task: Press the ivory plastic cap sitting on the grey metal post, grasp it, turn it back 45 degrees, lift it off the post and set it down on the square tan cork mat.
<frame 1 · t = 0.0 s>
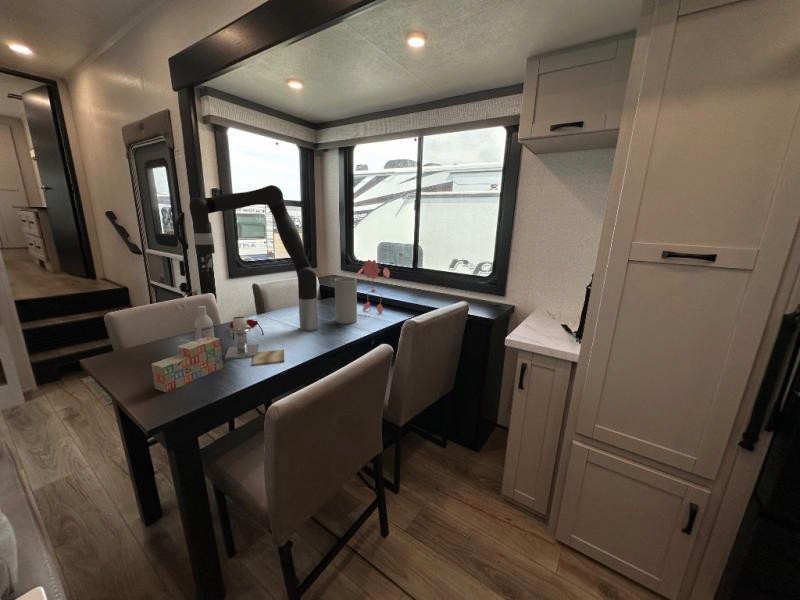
hand: (208, 277, 149), 29 cm above the table, tool pointing down, fingers open, 8 cm apart
bath foam: (206, 350, 139), on the table
coaster: (269, 358, 133), on the table
post: (242, 352, 138), on the table
stack of blocks: (191, 378, 115), on the table
cylinder vase: (346, 321, 187), on the table
glasses: (246, 333, 163), on the table
cap: (240, 329, 135), point 11 cm above the table, touching post
figurine: (370, 313, 204), on the table
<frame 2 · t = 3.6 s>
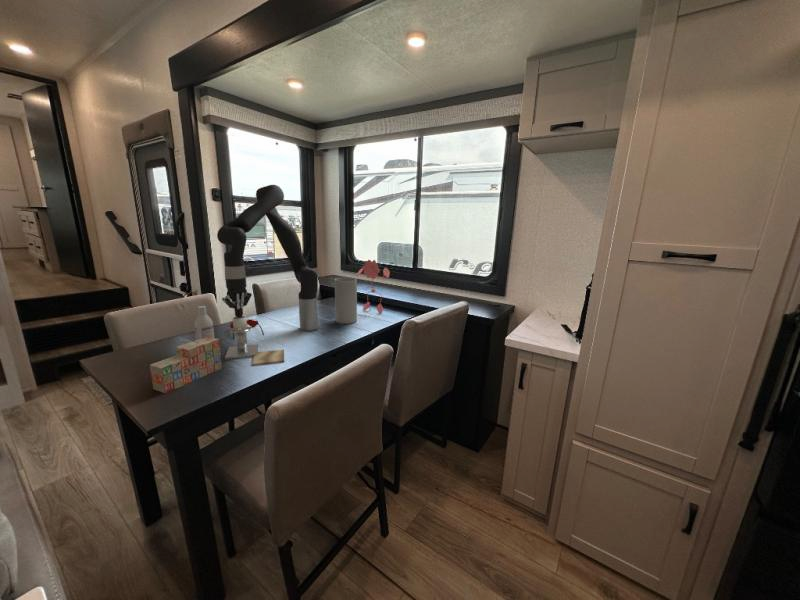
hand: (239, 316, 134), 16 cm above the table, tool pointing down, fingers closed
cap: (240, 329, 135), point 11 cm above the table, touching gripper, post
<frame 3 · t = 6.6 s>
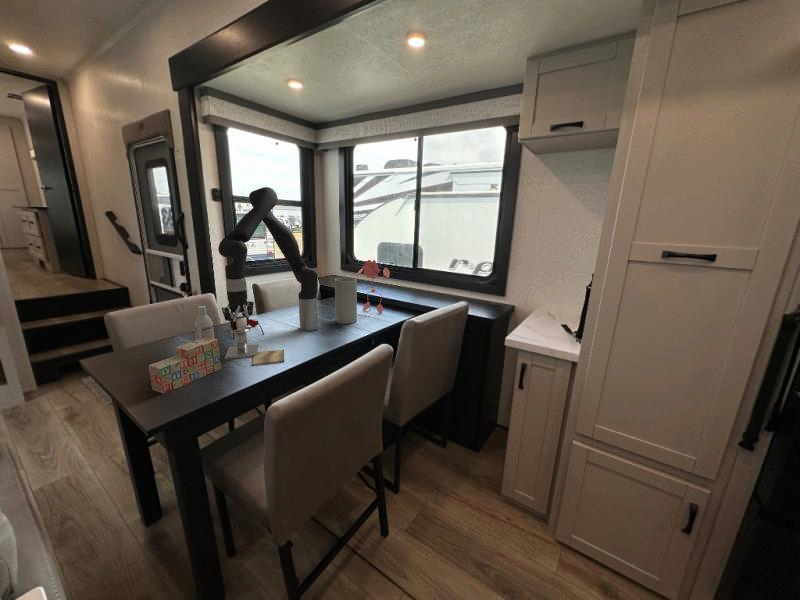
hand: (240, 327, 135), 12 cm above the table, tool pointing down, fingers closed on cap, 5 cm apart
cap: (240, 329, 135), point 11 cm above the table, touching gripper, post
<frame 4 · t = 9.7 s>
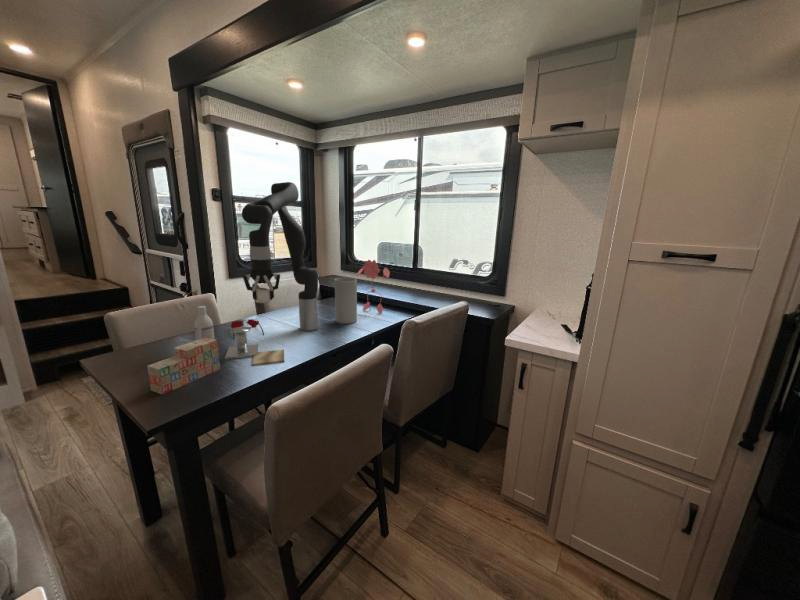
hand: (263, 299, 127), 25 cm above the table, tool pointing down, fingers closed on cap, 5 cm apart
cap: (263, 301, 128), point 25 cm above the table, touching gripper
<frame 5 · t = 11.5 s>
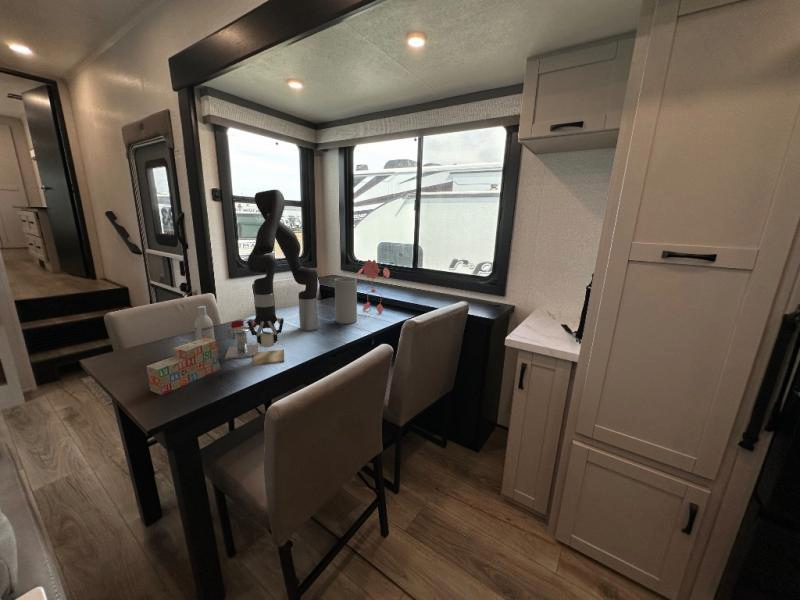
hand: (267, 343, 132), 7 cm above the table, tool pointing down, fingers closed on cap, 5 cm apart
cap: (267, 344, 132), point 6 cm above the table, touching gripper
when the fingers open (2 cm above the table, at t = 12.9 s): cap stays where it is, resting on coaster.
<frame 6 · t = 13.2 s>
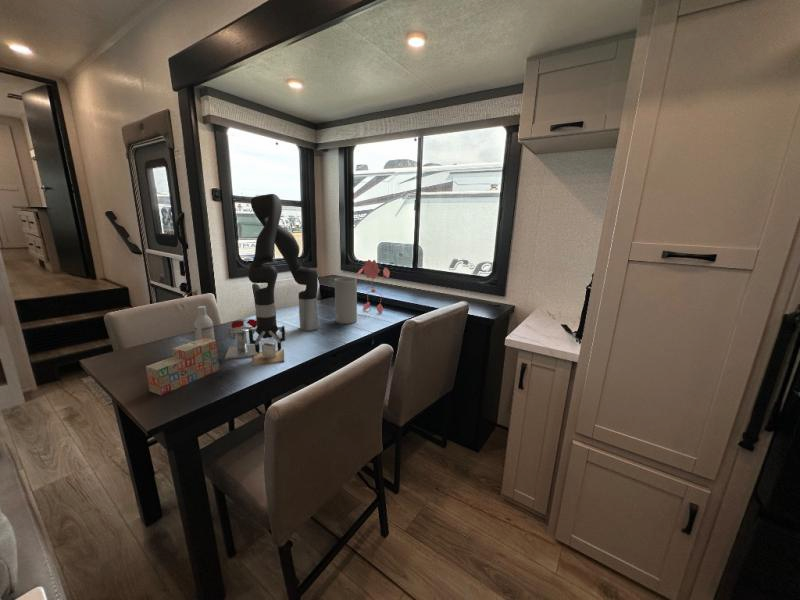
hand: (268, 351, 133), 3 cm above the table, tool pointing down, fingers open, 7 cm apart
cap: (269, 356, 133), point 1 cm above the table, touching coaster
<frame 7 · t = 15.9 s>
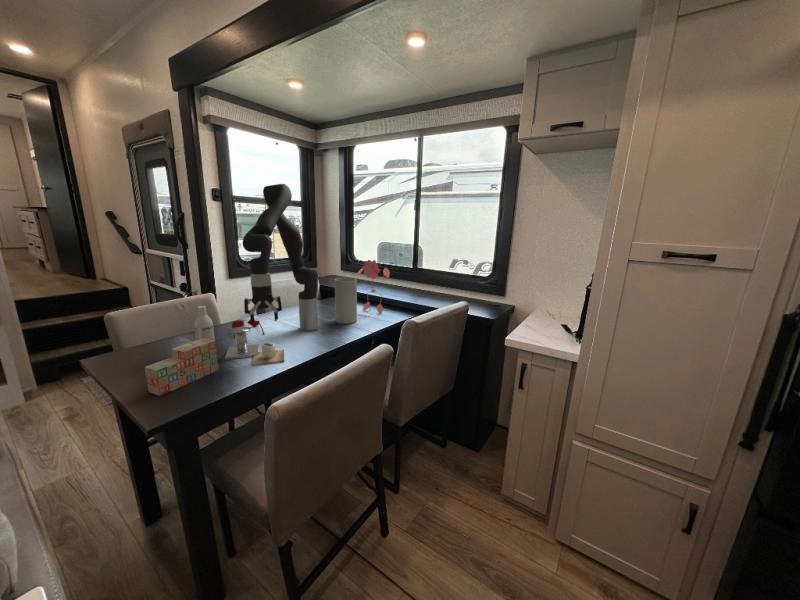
hand: (264, 321, 133), 15 cm above the table, tool pointing down, fingers open, 8 cm apart
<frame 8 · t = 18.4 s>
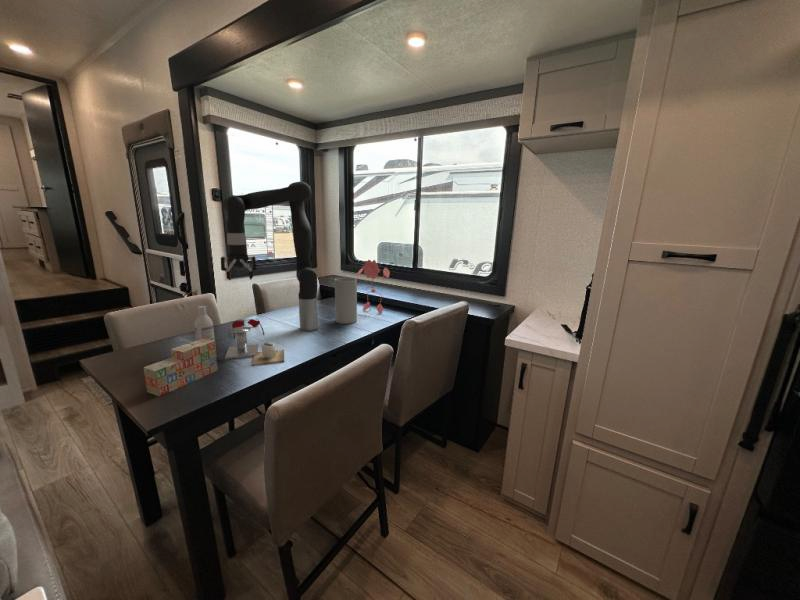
hand: (240, 279, 143), 30 cm above the table, tool pointing down, fingers open, 8 cm apart
at the end: cap inside the target area on the coaster (0.1 cm from its centre), point 0.9 cm above the coaster's base; cap touching coaster; cap tilted 0° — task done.
